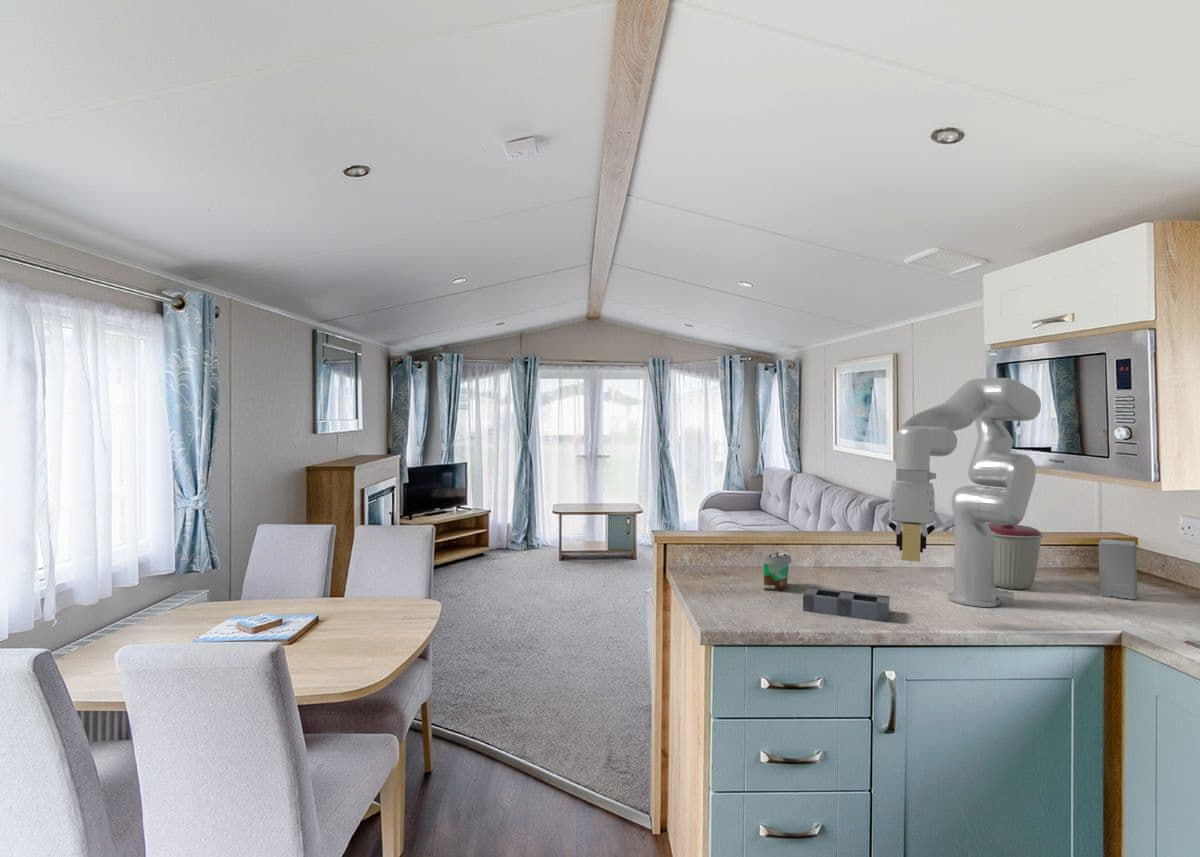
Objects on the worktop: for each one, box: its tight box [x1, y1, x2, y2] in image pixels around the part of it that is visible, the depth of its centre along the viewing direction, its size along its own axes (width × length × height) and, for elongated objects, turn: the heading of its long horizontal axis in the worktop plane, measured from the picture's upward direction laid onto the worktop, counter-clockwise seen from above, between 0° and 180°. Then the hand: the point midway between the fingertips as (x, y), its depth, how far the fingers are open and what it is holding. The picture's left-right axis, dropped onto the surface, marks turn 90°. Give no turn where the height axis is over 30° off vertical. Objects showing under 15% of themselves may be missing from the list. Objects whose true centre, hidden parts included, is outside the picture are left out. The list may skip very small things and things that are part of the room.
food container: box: [762, 549, 792, 592], centre depth 193 cm, size 12×6×10 cm, turn 148°
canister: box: [987, 523, 1045, 590], centre depth 199 cm, size 18×18×21 cm
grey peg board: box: [802, 586, 891, 623], centre depth 171 cm, size 20×10×4 cm, turn 63°
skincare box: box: [1098, 538, 1138, 600], centre depth 188 cm, size 8×7×16 cm
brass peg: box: [901, 522, 922, 563], centre depth 164 cm, size 4×4×9 cm
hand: (910, 549), depth 164 cm, fingers closed on brass peg, 4 cm apart
